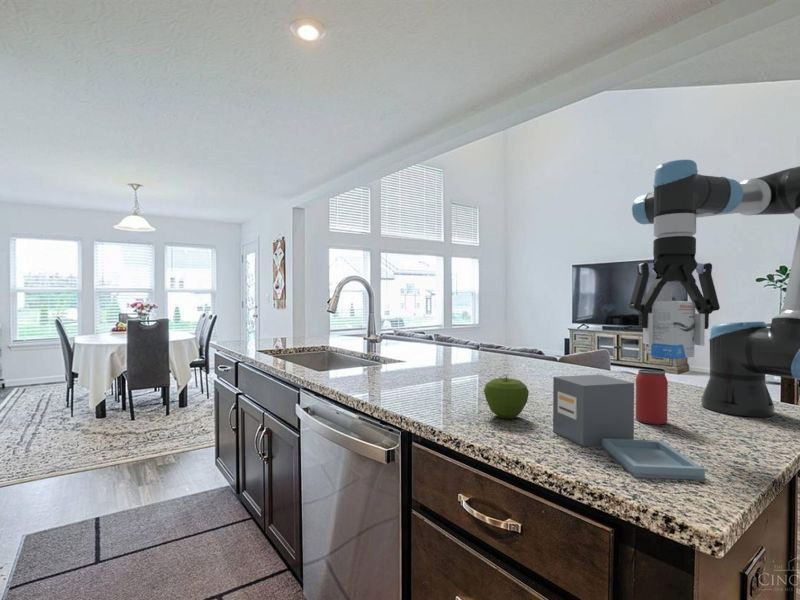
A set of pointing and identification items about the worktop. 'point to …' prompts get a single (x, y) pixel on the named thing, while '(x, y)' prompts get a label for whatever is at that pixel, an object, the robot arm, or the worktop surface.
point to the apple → (506, 397)
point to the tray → (652, 459)
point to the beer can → (651, 397)
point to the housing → (593, 408)
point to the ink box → (673, 327)
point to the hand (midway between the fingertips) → (673, 344)
